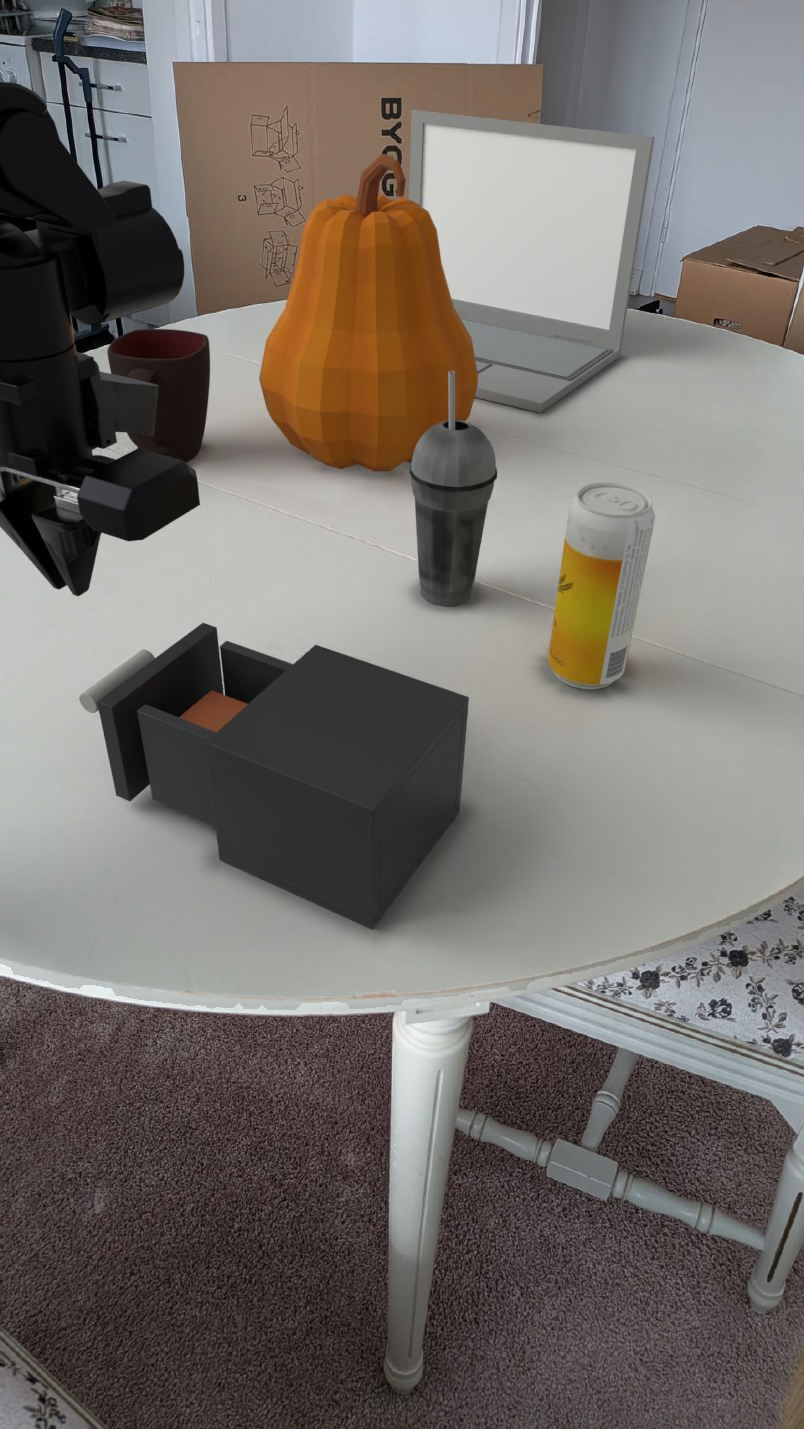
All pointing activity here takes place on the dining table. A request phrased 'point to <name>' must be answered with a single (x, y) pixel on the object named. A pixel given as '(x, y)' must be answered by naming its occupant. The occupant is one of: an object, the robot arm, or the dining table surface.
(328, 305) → the decorative pumpkin
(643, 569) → the beer can
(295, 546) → the dining table surface
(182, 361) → the mug
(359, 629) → the dining table surface
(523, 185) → the laptop
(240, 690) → the drawer
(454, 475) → the beverage cup
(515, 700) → the dining table surface
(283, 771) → the cabinet
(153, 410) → the robot arm
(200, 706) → the block
